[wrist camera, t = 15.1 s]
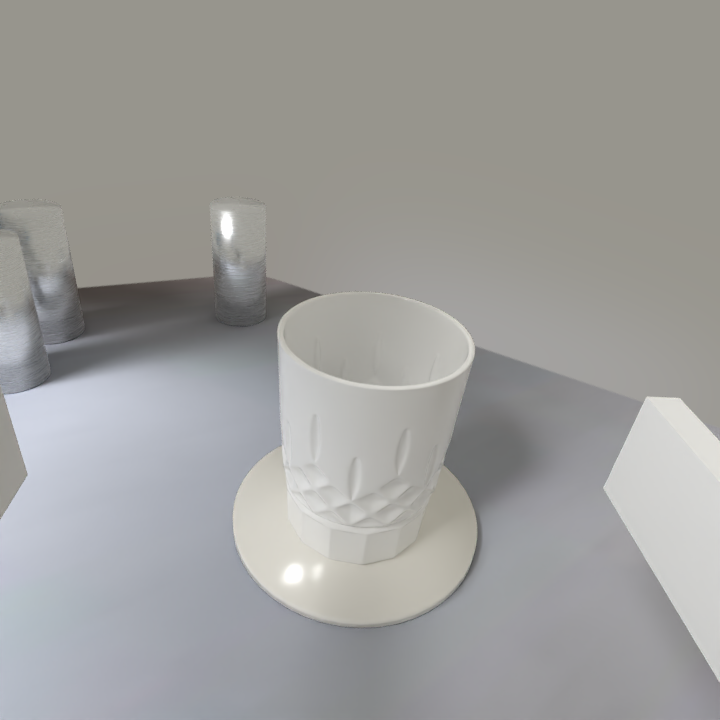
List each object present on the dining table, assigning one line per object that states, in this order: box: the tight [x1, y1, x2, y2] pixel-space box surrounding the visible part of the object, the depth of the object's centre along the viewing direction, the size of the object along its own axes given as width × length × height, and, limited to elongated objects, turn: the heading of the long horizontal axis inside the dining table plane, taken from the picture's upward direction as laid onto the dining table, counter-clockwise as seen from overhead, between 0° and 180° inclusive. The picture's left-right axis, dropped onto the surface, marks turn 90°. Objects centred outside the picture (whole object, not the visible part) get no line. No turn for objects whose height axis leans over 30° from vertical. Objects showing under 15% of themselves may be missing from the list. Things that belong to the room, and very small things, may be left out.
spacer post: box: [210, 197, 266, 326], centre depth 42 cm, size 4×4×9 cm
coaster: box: [233, 445, 477, 628], centre depth 27 cm, size 12×12×1 cm
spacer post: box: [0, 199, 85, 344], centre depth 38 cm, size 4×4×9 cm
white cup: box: [277, 292, 475, 565], centre depth 25 cm, size 8×8×10 cm
